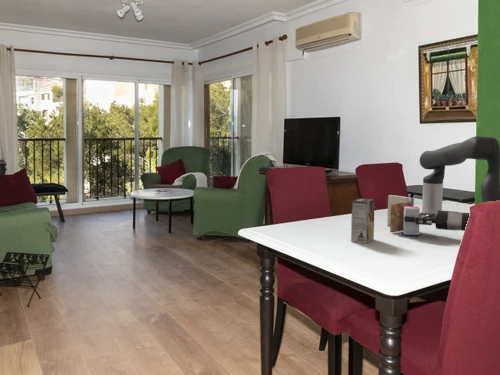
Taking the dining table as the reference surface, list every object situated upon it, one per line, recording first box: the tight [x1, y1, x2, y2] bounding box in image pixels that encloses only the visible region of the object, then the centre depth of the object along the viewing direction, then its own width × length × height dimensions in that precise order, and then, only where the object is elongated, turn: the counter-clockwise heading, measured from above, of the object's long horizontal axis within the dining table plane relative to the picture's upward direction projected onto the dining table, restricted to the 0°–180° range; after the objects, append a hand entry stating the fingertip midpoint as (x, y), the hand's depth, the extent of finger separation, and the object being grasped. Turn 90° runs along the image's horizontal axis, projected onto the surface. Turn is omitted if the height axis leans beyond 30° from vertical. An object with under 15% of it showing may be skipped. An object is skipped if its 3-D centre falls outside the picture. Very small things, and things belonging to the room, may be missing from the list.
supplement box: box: [402, 206, 421, 236], centre depth 186 cm, size 6×6×12 cm
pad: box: [398, 231, 423, 239], centre depth 187 cm, size 8×8×1 cm
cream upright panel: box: [386, 194, 415, 227], centre depth 201 cm, size 2×13×14 cm, turn 33°
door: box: [389, 202, 410, 233], centre depth 192 cm, size 11×2×12 cm, turn 123°
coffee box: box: [350, 198, 376, 245], centre depth 177 cm, size 9×6×16 cm
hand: (406, 217), depth 187 cm, fingers open, 8 cm apart
